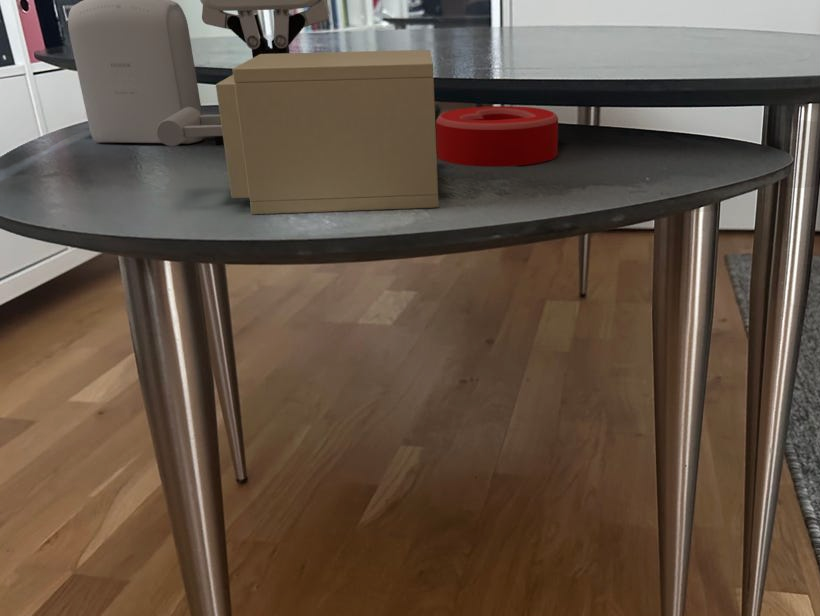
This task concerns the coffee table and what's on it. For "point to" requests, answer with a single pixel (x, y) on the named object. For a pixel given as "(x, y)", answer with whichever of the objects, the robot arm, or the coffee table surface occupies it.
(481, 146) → the decorative ornament
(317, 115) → the cabinet
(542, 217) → the coffee table surface
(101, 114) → the photo printer
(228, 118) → the drawer
